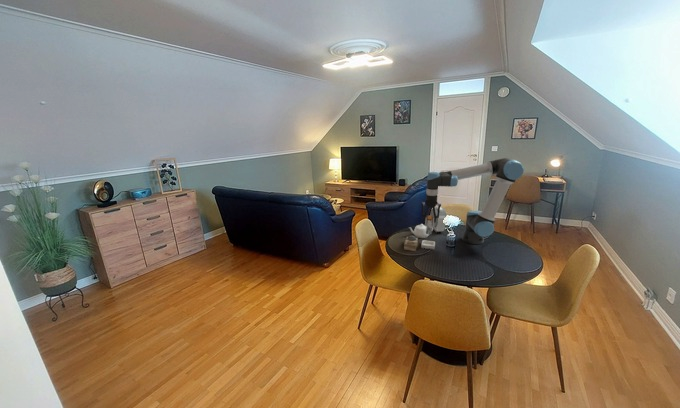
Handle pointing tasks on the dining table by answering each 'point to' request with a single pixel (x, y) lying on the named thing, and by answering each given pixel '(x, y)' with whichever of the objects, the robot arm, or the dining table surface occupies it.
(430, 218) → the pin
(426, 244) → the tray
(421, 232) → the teapot
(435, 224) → the grey piece
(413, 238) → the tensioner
